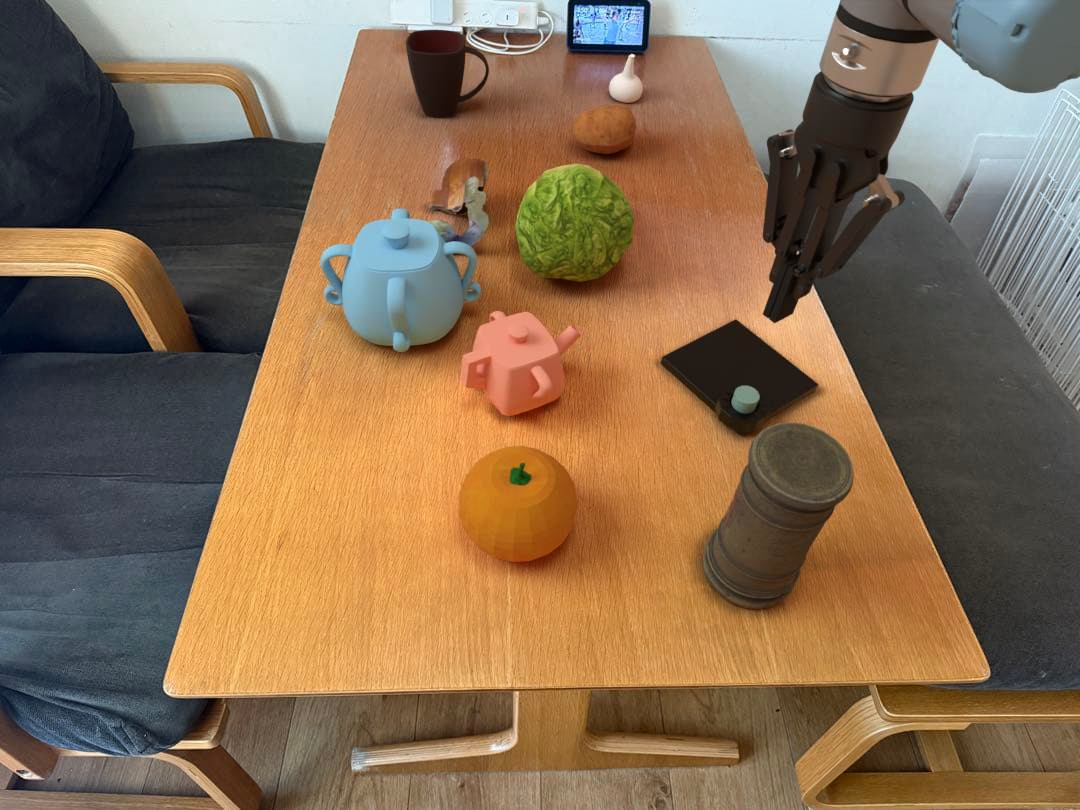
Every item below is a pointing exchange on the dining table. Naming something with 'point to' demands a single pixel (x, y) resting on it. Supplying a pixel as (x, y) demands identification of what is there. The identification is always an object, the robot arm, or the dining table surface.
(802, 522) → the container
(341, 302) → the decorative pot
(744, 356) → the scale
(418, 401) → the dining table surface
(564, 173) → the lettuce
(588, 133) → the potato
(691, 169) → the dining table surface
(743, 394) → the button
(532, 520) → the fruit
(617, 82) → the garlic bulb
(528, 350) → the teapot
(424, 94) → the mug
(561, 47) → the dining table surface
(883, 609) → the dining table surface
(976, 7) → the robot arm
